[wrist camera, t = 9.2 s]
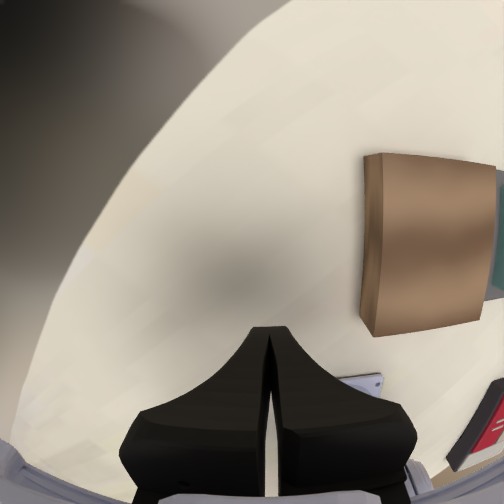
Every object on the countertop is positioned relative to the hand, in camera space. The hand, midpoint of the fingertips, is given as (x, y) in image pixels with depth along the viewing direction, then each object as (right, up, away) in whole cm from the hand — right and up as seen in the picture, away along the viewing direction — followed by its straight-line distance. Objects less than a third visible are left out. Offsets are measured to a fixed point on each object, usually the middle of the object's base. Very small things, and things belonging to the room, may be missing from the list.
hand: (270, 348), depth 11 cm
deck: (+12, +5, +9) cm, 16 cm away
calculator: (+33, -19, +15) cm, 41 cm away
